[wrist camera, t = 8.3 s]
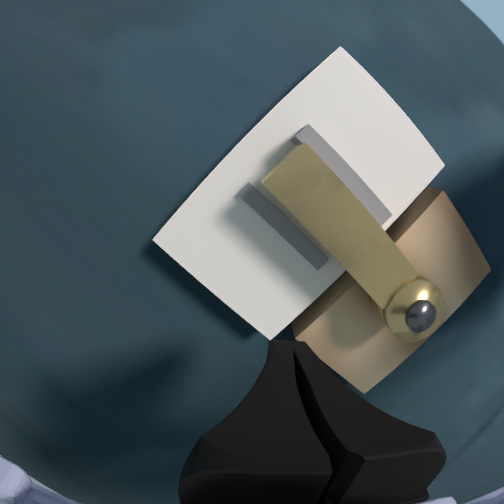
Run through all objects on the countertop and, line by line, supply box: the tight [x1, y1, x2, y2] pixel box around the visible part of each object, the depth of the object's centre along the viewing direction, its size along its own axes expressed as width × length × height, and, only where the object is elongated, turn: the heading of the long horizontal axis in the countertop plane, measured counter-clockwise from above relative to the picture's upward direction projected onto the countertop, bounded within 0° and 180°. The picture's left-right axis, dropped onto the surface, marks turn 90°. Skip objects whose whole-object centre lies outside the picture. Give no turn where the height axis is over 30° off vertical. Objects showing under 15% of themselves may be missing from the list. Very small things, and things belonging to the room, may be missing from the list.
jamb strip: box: [292, 187, 491, 394], centre depth 18 cm, size 12×7×2 cm, turn 137°
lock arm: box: [261, 142, 446, 343], centre depth 14 cm, size 11×3×4 cm, turn 46°
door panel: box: [153, 46, 445, 340], centre depth 16 cm, size 14×8×4 cm, turn 137°
